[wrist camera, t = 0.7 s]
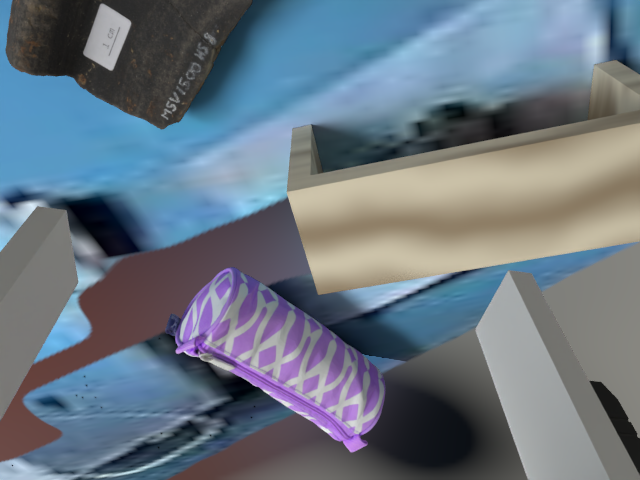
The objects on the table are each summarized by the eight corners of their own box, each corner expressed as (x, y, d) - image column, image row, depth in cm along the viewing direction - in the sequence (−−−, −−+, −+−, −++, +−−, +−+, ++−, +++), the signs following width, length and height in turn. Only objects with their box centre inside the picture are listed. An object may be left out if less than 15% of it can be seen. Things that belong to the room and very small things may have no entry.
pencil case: (174, 295, 49) (148, 372, 41) (229, 241, 44) (211, 315, 37) (333, 386, 58) (336, 463, 50) (391, 348, 54) (403, 425, 46)
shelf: (292, 128, 38) (286, 192, 30) (615, 59, 35) (700, 111, 27) (317, 221, 43) (318, 294, 35) (600, 168, 40) (666, 236, 32)
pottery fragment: (172, 136, 37) (151, 160, 33) (22, 33, 34) (-19, 48, 30) (281, -42, 30) (269, -36, 26) (103, -194, 26) (61, -211, 23)
